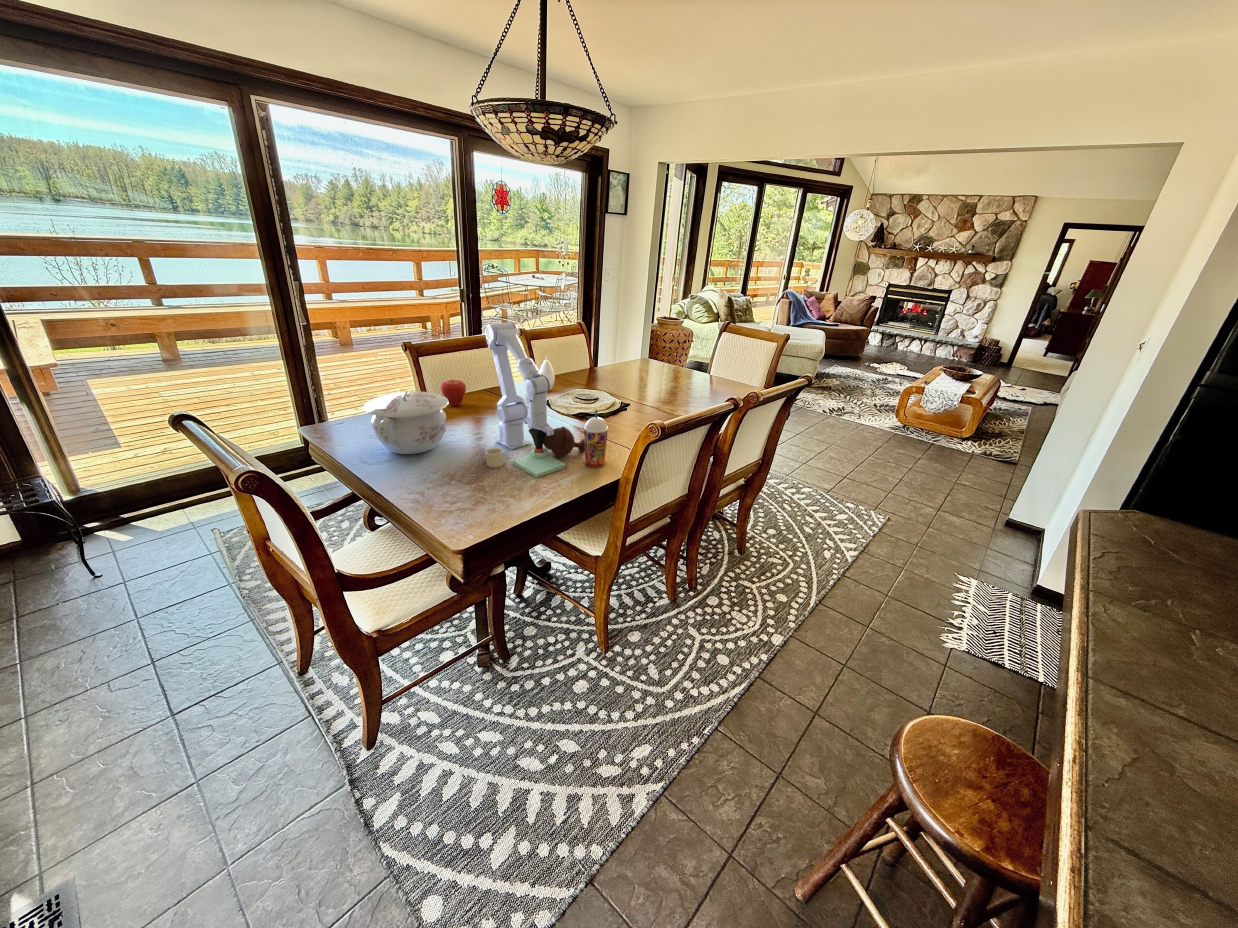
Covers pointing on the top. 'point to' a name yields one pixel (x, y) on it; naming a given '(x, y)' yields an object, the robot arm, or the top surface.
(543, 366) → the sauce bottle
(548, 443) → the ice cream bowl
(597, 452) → the smoothie
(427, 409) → the chamber pot
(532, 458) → the scale
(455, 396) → the apple
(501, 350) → the robot arm
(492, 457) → the beige cup
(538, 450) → the tare button
